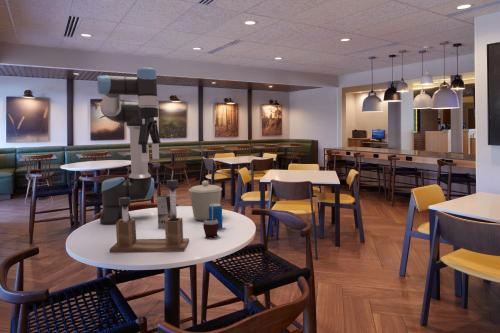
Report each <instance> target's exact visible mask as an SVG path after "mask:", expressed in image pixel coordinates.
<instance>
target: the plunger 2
mask: <svg viewBox="0 0 500 333" xmlns="http://www.w3.org/2000/svg"><path fill="white" fill-rule="evenodd" d="M166 188H167V189H169V194H170V210H171V221H177V218H178V216H177V215H178V214H177V193H176V192H177V191H176V189H178V188H179V180H178V179H167V180H166Z"/></svg>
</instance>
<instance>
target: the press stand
mask: <svg viewBox="0 0 500 333" xmlns="http://www.w3.org/2000/svg"><path fill="white" fill-rule="evenodd" d="M183 222H184V221H183V217H177V221H171V218H168V219H167V220H166V221H165V229H164V230H165V231H164V232H165V238H143V239H142V238H138V239H137V226H136V225H137V224H136V218H130V219H129V222H123V219H120V220H119V221H117V222H116V224H115V229H116V233H115V234H116V243H115V244H113V245H112V246H111V247H110V248H109V253H110V254H111V253H112V254H113V253H155V252H156V253H157V252H158V253H159V252H161V253H162V252H163V253H164V252H185V250H186V249H187V246H188V244H190V243H189V242H190V238H188V237H187V238H186V237H185V238H184V226H183V225H184V224H183Z"/></svg>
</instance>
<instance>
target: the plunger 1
mask: <svg viewBox="0 0 500 333" xmlns="http://www.w3.org/2000/svg"><path fill="white" fill-rule="evenodd" d="M119 206H122V217H123V222H129V215H130V214H129V215H128V212H129V206H131V201H130V197H122V198H119Z"/></svg>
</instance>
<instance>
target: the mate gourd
mask: <svg viewBox="0 0 500 333" xmlns="http://www.w3.org/2000/svg"><path fill="white" fill-rule="evenodd" d="M213 203H214V202H212V218H209V219H206V220H205V221H203V225H202V226H203V231H204V236H205V237H204V238H205V239H209V238H212V239H216V237H217V236H218V231H219V230H218V229H219V223H218V221H217V219H215V218H213Z"/></svg>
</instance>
